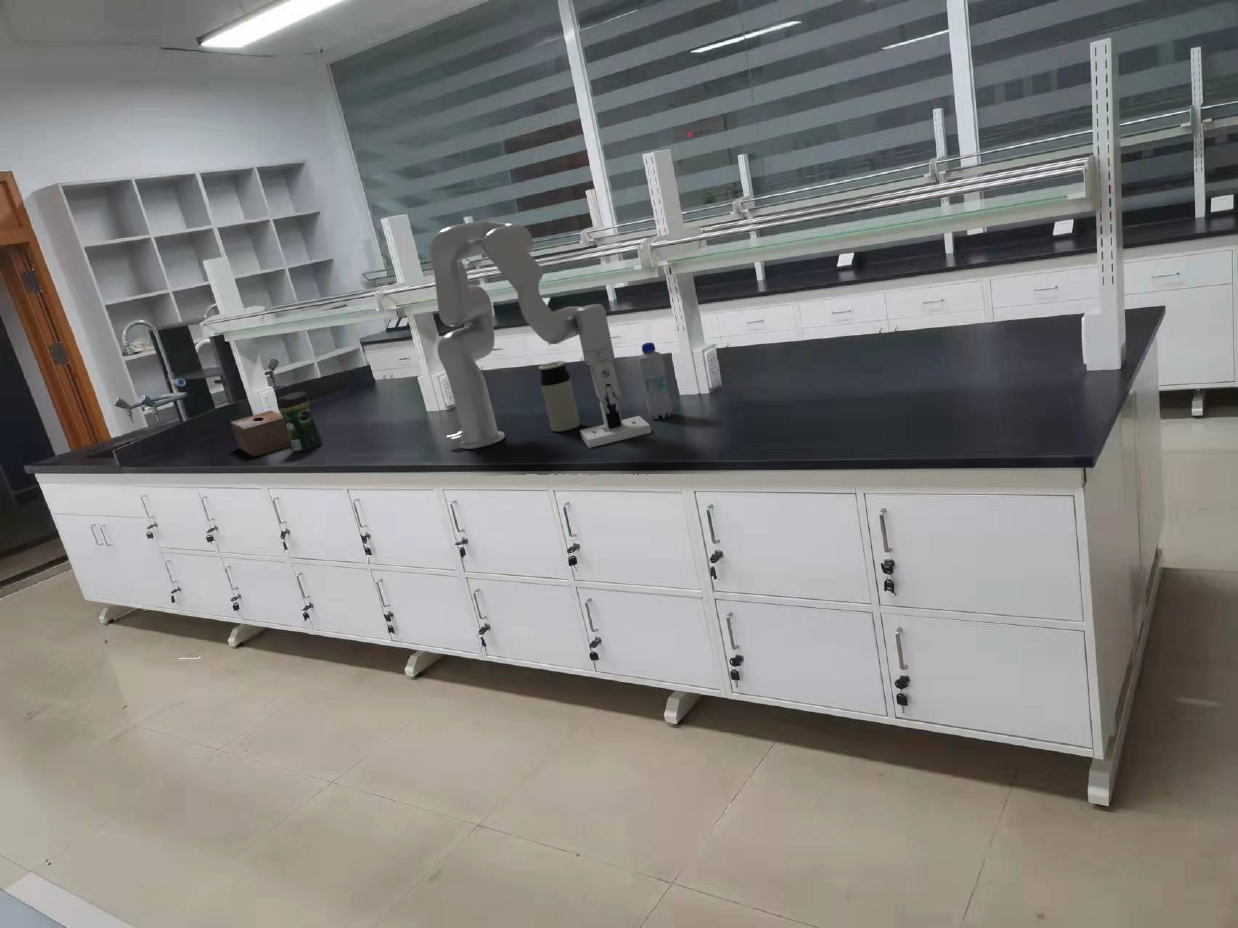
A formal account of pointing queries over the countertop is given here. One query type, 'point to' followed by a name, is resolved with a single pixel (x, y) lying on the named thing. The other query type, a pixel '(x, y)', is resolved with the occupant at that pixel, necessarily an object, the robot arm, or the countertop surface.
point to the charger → (606, 417)
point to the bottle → (654, 382)
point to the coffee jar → (299, 421)
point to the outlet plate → (615, 432)
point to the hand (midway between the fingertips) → (613, 424)
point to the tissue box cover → (261, 433)
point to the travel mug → (559, 396)
